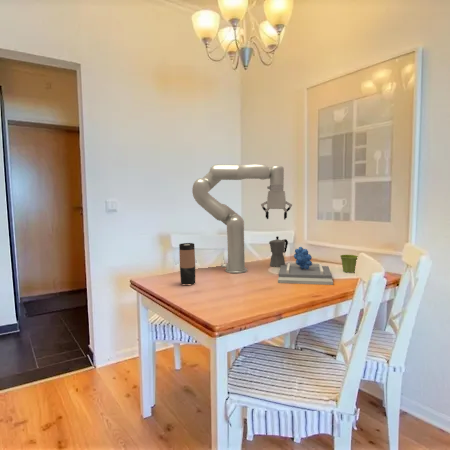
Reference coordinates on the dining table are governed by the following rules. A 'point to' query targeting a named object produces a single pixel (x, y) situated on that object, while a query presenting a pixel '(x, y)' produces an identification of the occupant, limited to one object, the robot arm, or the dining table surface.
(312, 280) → the dock
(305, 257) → the grapes
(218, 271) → the dining table surface
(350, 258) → the plant pot
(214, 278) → the dining table surface
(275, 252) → the coffeepot
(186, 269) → the travel mug
